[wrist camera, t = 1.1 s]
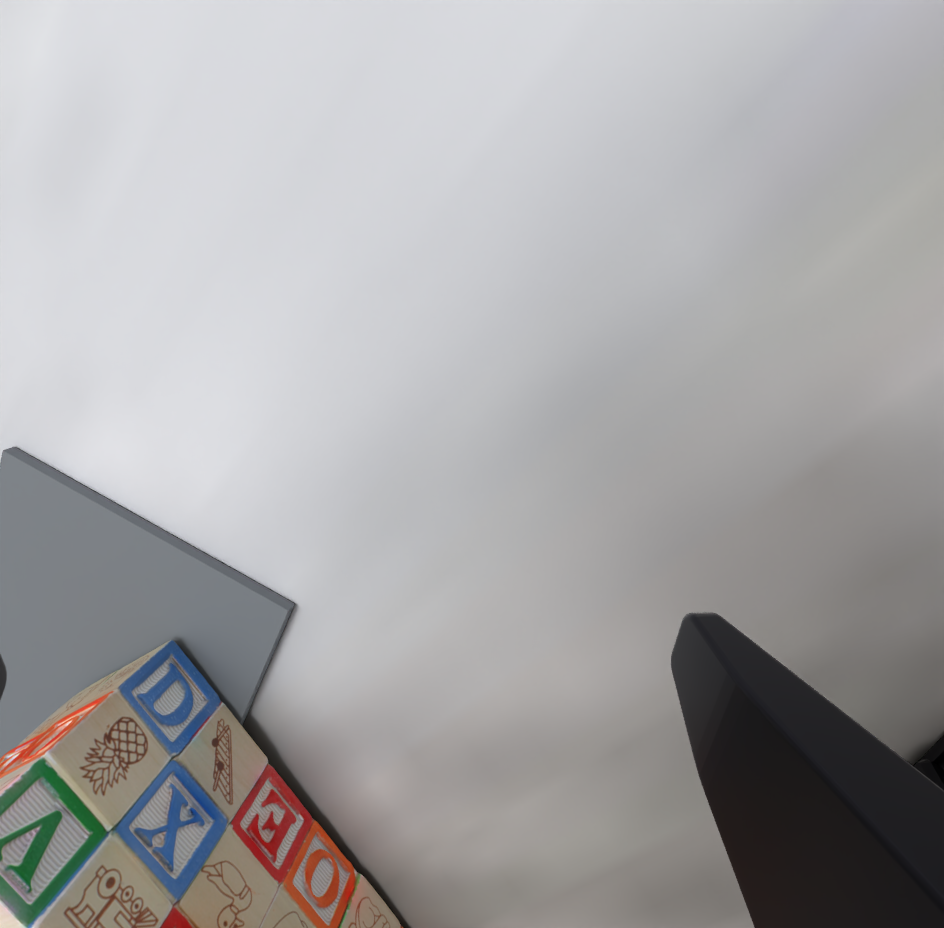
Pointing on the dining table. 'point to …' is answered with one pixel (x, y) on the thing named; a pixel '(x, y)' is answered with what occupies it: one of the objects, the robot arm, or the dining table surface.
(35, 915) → the stack of blocks
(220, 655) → the mat
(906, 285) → the dining table surface
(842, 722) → the robot arm
